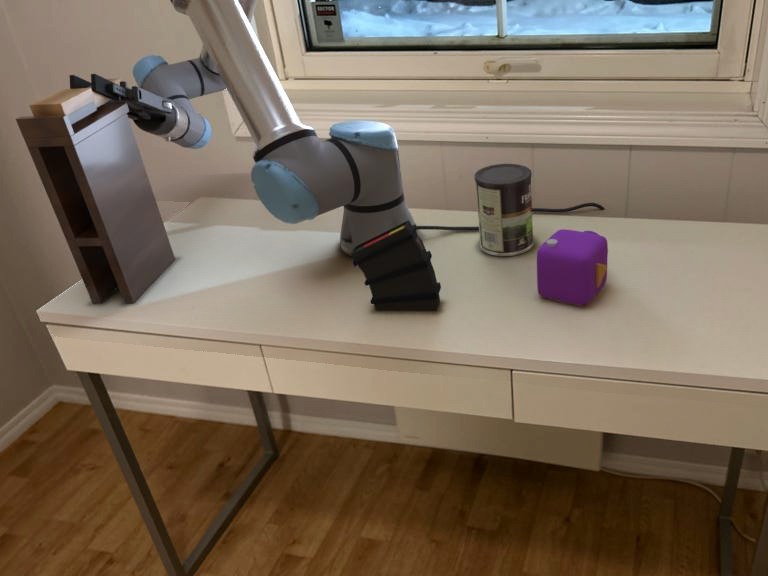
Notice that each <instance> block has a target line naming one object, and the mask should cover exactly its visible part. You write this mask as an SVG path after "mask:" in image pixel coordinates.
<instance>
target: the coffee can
mask: <svg viewBox="0 0 768 576" xmlns="http://www.w3.org/2000/svg"><path fill="white" fill-rule="evenodd" d="M473 178H474V182H475V193H476V205H477V206H476V207H477V220H478V226H479V230H478V231H479V247H480V250H481V251H482V252H483V253H485V254H488V255H491V256H495V257H513V256H518V255H521V254H525V253H526V252H528V251H529V250H531V249H532V248H533V247H534V244H535V243H534V230H533V212H532V208H533V202H532V199H533V198H532V170H531V169H530V167H527V166H525V165H522V164H518V163H497V164H492V165H487V166H485V167H482V168H480V169H478V170H477V171H476V172H474V175H473Z"/></svg>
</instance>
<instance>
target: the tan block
mask: <svg viewBox="0 0 768 576" xmlns="http://www.w3.org/2000/svg"><path fill="white" fill-rule="evenodd" d="M106 79H107V80H109V81H111V82H113V83H116V84H118V86H120V81H122V79H121V78H106ZM110 100H112V99H110V98H108V97H106V96H103V95H101V94H99V93H96V92H94V91H92V87H91V86H90V87H88V88H79V89H70V88H61V89H59V90H57V91H55V92H53V93H51V94H49V95H46V96H44V97H43V98H40V99H38V100H37V101H34V102H33V103H30V104H29V105H28V106H29V108H30V111H31V113H32V116H50V115H68V118H69V121H70V123H71V125H72V124H74V123H75V122H77V121H79V120H81V119H82V118H84V117H86V116H88V115H89V114H91V113H93V112H95V111H97V107H99V106H101V105H103V104H104V103H106V102H108V101H110Z"/></svg>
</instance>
